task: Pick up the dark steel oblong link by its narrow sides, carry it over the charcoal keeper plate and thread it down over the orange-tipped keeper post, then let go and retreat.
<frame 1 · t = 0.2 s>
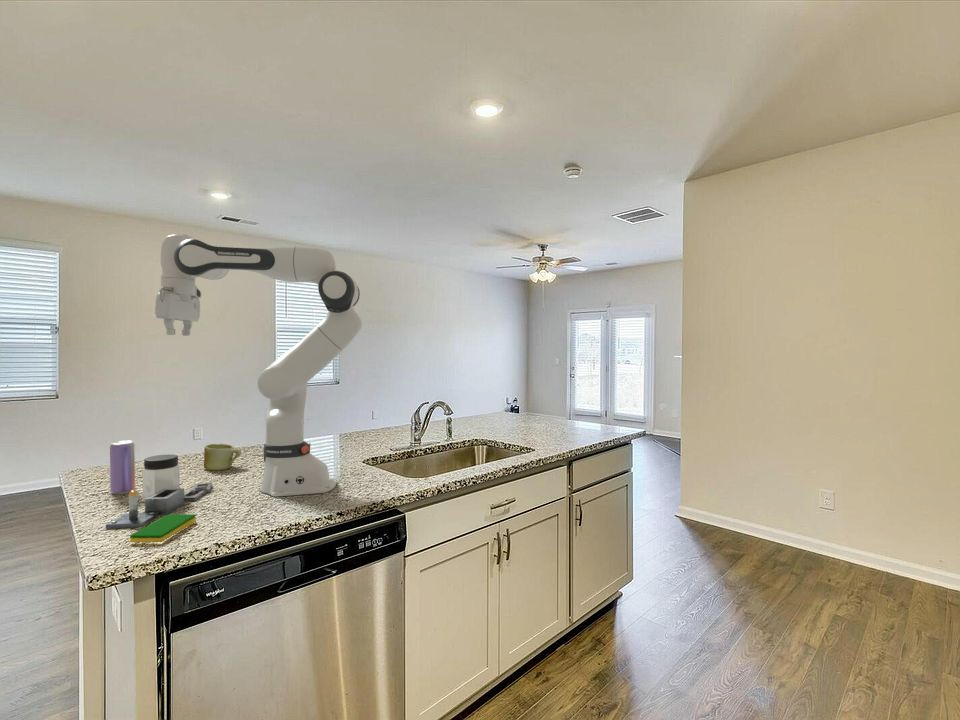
hand: (178, 335, 146), 47 cm above the worktop, fingers open, 8 cm apart
link: (165, 509, 130), on the worktop
mug: (222, 468, 175), on the worktop
beverage can: (122, 492, 146), on the worktop
chain tail: (192, 496, 141), on the worktop
dish sponge: (164, 534, 115), on the worktop
keeper: (133, 522, 121), on the worktop
jar: (161, 499, 139), on the worktop
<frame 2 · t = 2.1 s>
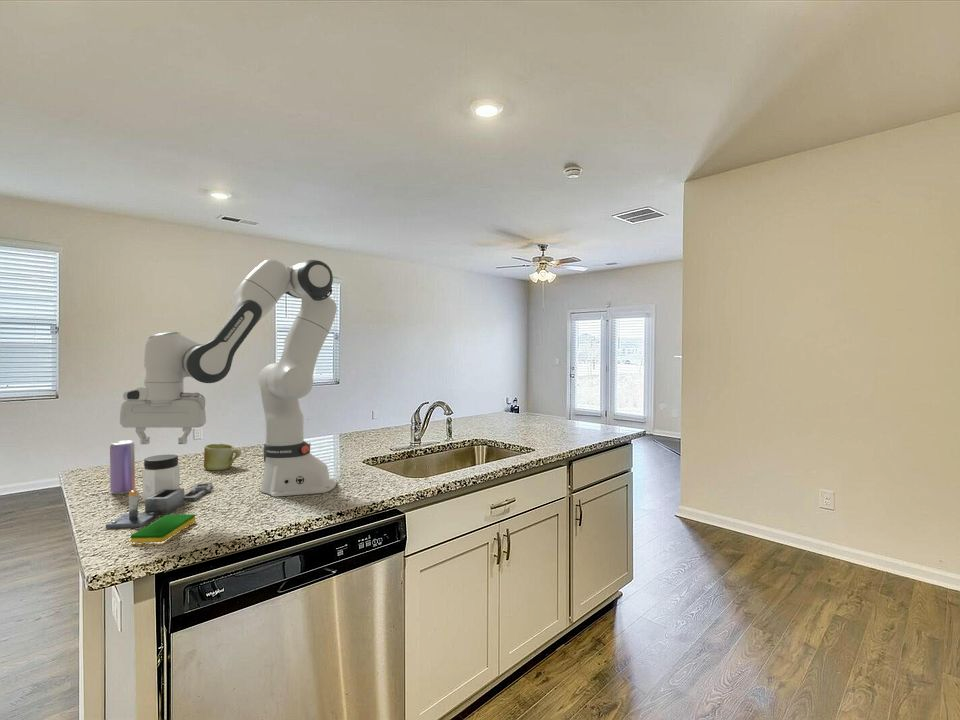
hand: (163, 444, 130), 18 cm above the worktop, fingers open, 8 cm apart
nothing on the worktop moved.
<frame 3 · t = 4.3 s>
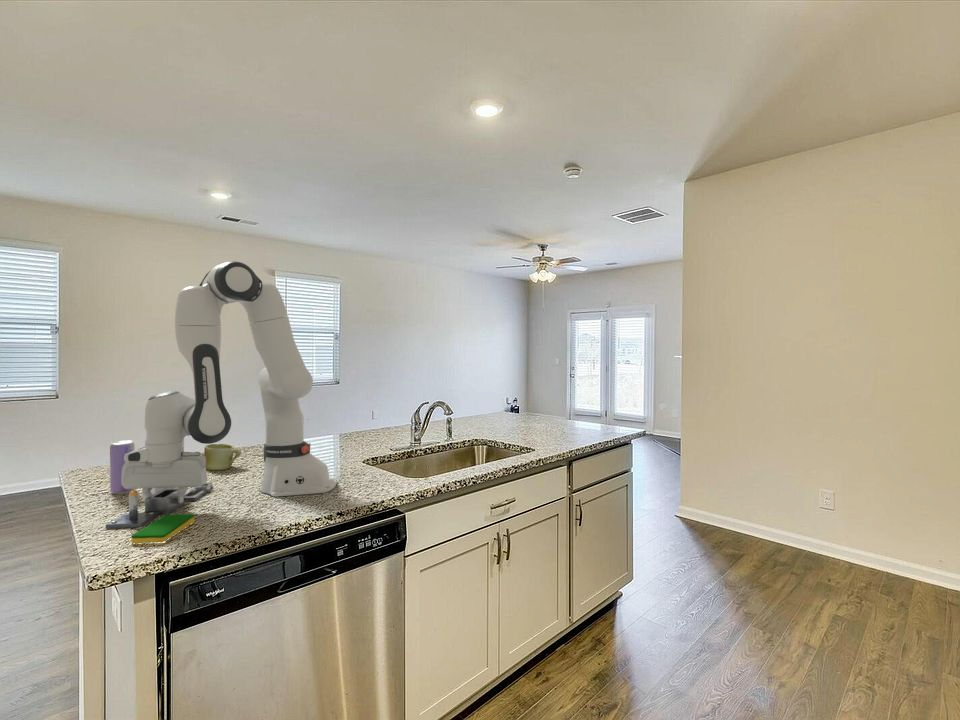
hand: (165, 503, 130), 2 cm above the worktop, fingers closed on link, 5 cm apart
link: (165, 509, 130), on the worktop, touching gripper
everything else where it was.
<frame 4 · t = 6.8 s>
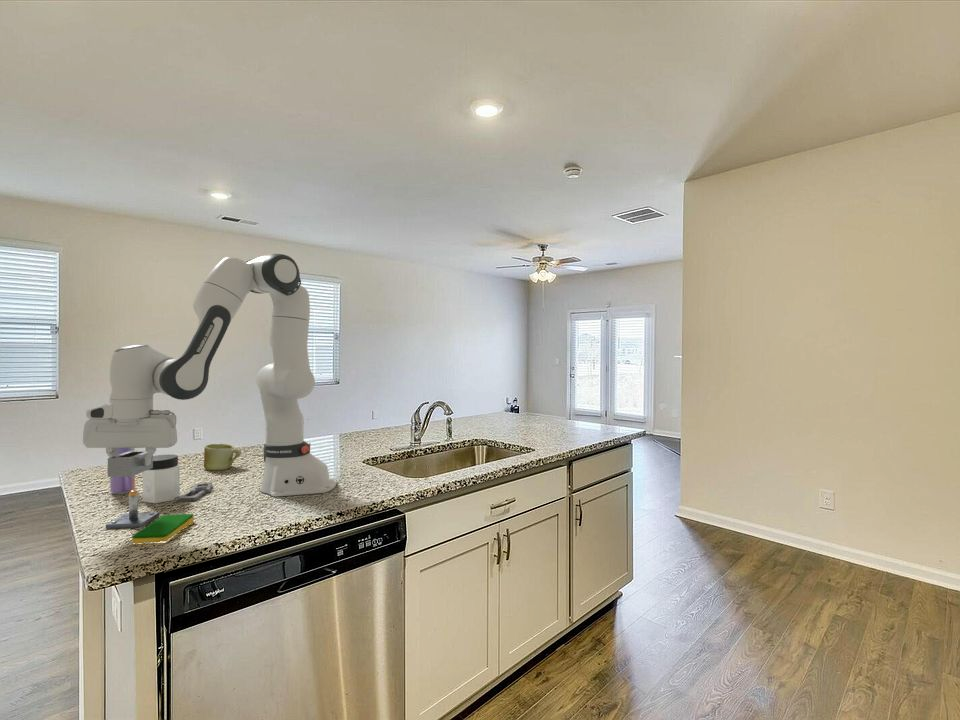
hand: (131, 465, 120), 14 cm above the worktop, fingers closed on link, 5 cm apart
link: (131, 472, 120), point 13 cm above the worktop, touching gripper
everything else where it was.
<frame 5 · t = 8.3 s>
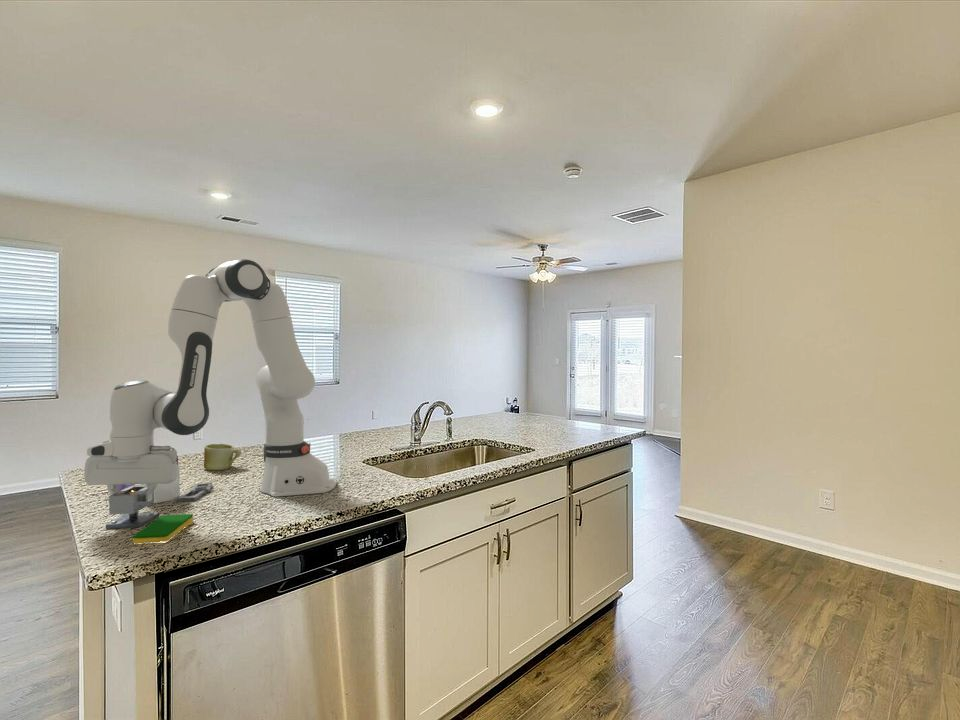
hand: (132, 501, 121), 5 cm above the worktop, fingers closed on link, 5 cm apart
link: (132, 507, 121), point 4 cm above the worktop, touching gripper
everything else where it was.
when the fingers open (5 cm above the worktop, at t = 9.3 s): link drops 2 cm, resting on keeper.
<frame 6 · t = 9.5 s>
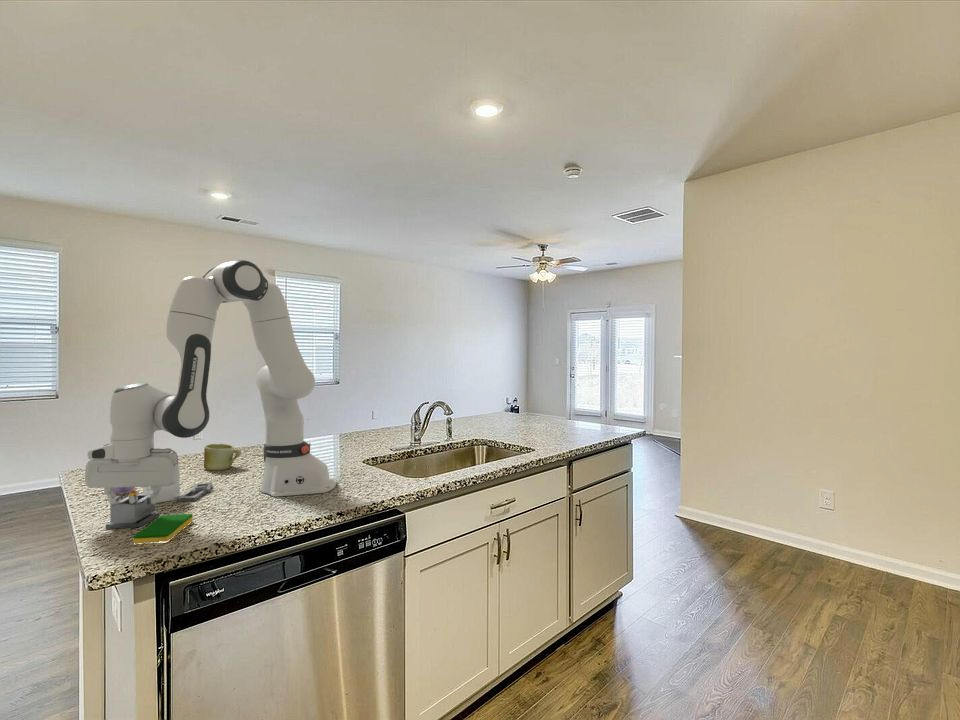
hand: (133, 503, 121), 5 cm above the worktop, fingers open, 7 cm apart
link: (133, 516, 121), point 1 cm above the worktop, touching keeper
everything else where it was.
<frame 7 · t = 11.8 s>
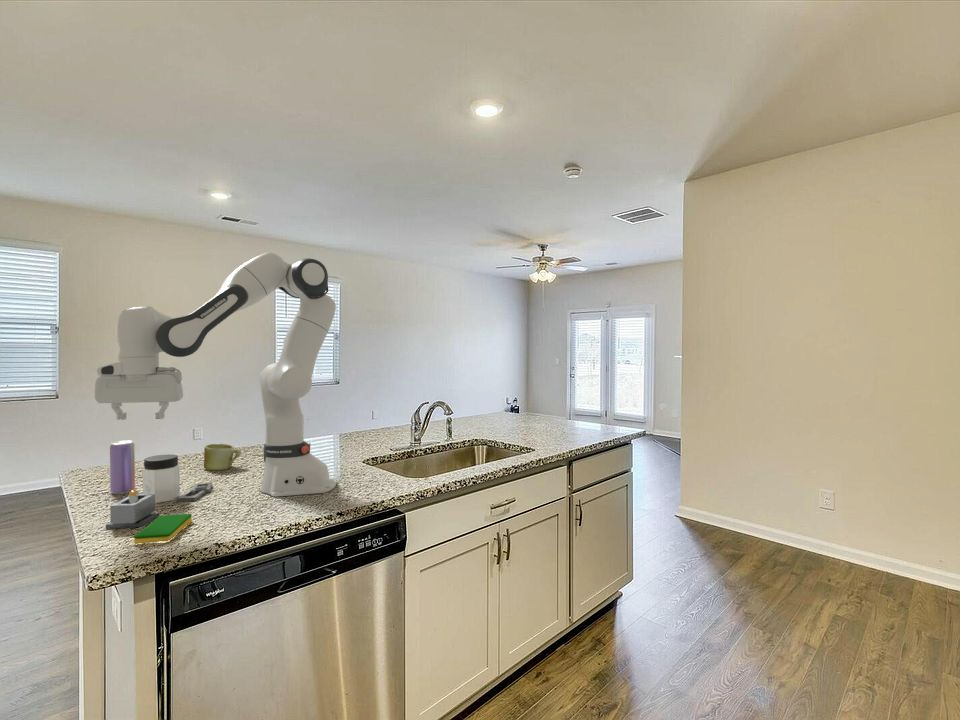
hand: (140, 419, 129), 24 cm above the worktop, fingers open, 8 cm apart
nothing on the worktop moved.
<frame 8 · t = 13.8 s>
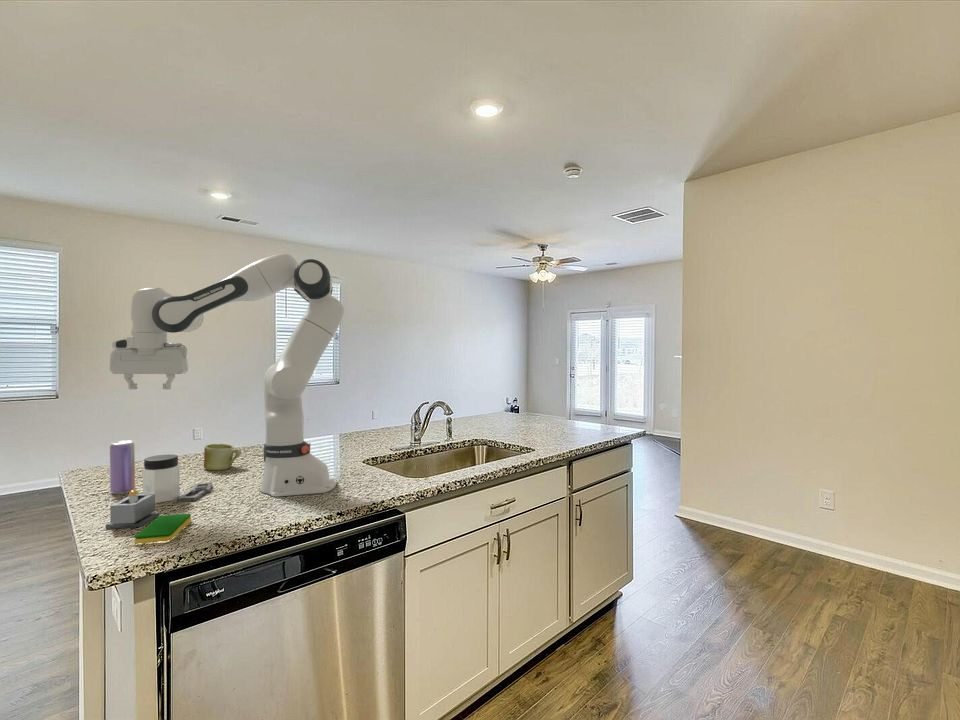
hand: (149, 389, 144), 31 cm above the worktop, fingers open, 8 cm apart
nothing on the worktop moved.
at the end: link 0.1 cm from the keeper (horizontally); link point 1.3 cm above the worktop; the gripper is holding nothing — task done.
